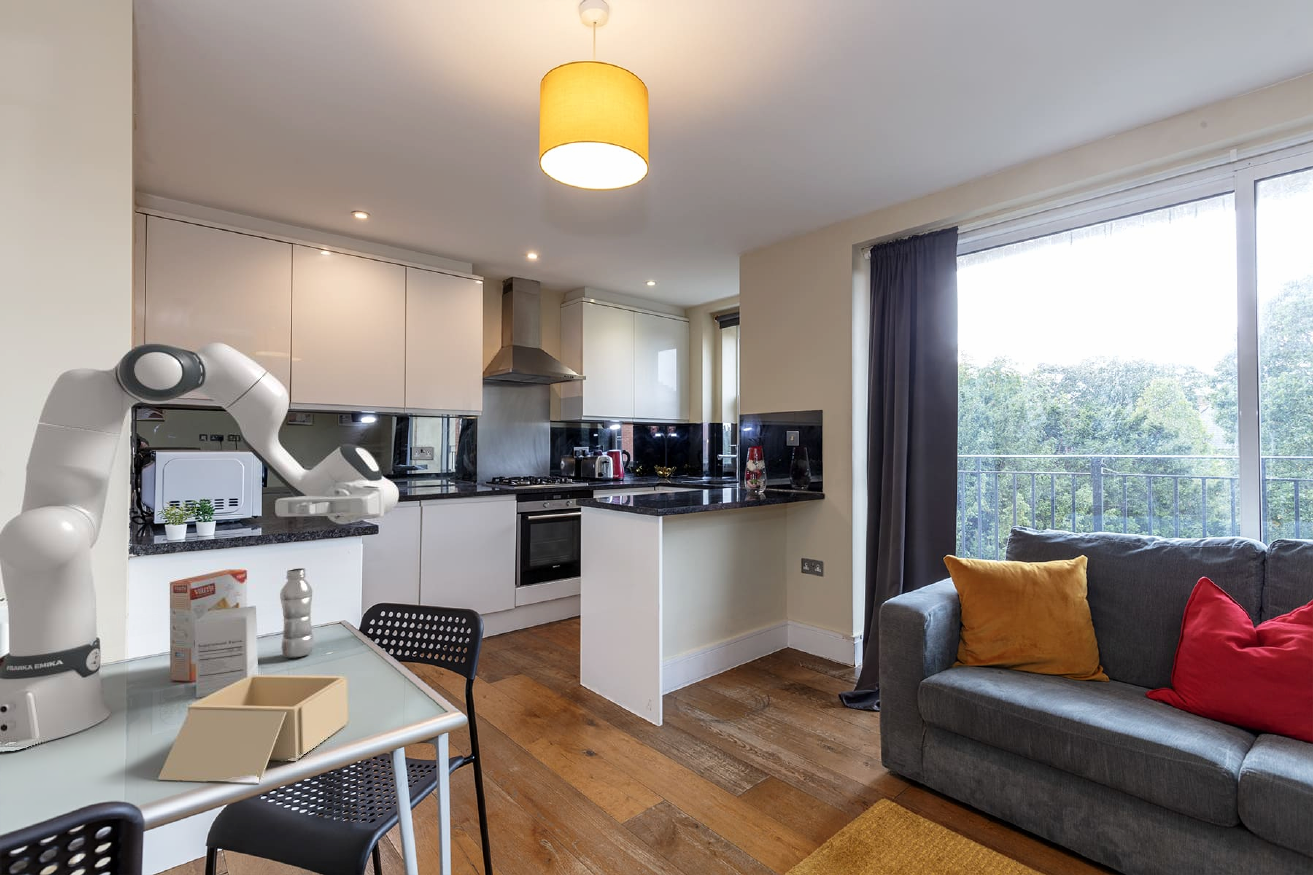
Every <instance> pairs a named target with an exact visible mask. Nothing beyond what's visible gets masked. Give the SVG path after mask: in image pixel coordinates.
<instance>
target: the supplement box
mask: <svg viewBox="0 0 1313 875" xmlns="http://www.w3.org/2000/svg"><path fill="white" fill-rule="evenodd" d="M194 626H195V666H196V680H195V696H196V698H197V699H198V698H205V697H207V696H209V695H211V694H213V693H215V692H217V691H219V690H221V689H223V688H225V687H227V686H229V685H231V684H234V683H236V682H238V681H240V680H242V679H244V678H247V677H249V676H251V675H259V664H258V662H259V661H258V659H259V658H258V656H259V655H258V631H257V630H258V629H257V628H258V627H257V606H256V605H252V606H247V607H242V608H233V609H221V610H212V611H208V612H207V613H205V614H204V615H203V616H202V617H201V618H199V619H198V620H197V621H196V622H194Z"/></svg>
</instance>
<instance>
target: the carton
mask: <svg viewBox="0 0 1313 875" xmlns="http://www.w3.org/2000/svg"><path fill="white" fill-rule="evenodd" d="M348 685H349V684H348V676H344V675H309V674H307V675H302V674H301V675H300V674H299V675H298V674H296V675H295V674H258V675H251V676H249V677H247V678H244V679H242V680H240V681H238V682H236V683H234V684H231V685H229V686H227V687H225V688H223V689H221V690H219V691H217V692H215V693H213V694H211V695H209V696H205V697H202V698H201V699H199V700H196V701H195V702H193V703H191V704H190V705H188V706H187V713H188V712H189V710H234V711H278V712H286V715H285V718H284V720H283V723H282V726H281V728H280V731H279V734H278V736H277V739H276V742H275V745H274V747H273V750H272V753H271V755H270V758H269V760H288V759H291V758H297V757H298V756H299V755H301V754H305V753H307V752H308V751H310V750H311V751H313V750H314V749H316V748H317V747H319V745H321V744H322V743H324V742H325V741H326V740H327V739H329V738H331V736H333V735H335V734H336V733H338V731H340V730H341V729H342V728H344V727H345V726H347V725H348V724H349V697H348V696H349V690H348V689H349V688H348V687H349V686H348ZM328 737H329V738H328ZM324 740H325V741H324ZM320 743H321V744H320ZM316 746H317V747H316ZM313 748H314V749H313ZM312 749H313V750H312ZM311 751H310V752H311ZM308 753H309V752H308ZM308 753H307V754H308Z"/></svg>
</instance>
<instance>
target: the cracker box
mask: <svg viewBox="0 0 1313 875" xmlns="http://www.w3.org/2000/svg"><path fill="white" fill-rule="evenodd" d="M242 607H248V570H246V569H240V568H239V569H234V568H233V569H231V568H230V569H223V570H219V571H214V572H210V573H206V574H205V573H204V574H201V575H196V576H192V577H187V578H184V579H178V580H173V581H170V583H169V662H170V663H169V664H170V666H169V676H170V678H169V679H170V680H169V681H176V682H188V683H192V682H196V666H195V626H194V622H196V621H197V620H198V619H199V618H201V617H202V616H203V615H204V614H205V613H207V612H208V611H212V610H221V609H233V608H242Z"/></svg>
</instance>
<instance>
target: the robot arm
mask: <svg viewBox="0 0 1313 875" xmlns="http://www.w3.org/2000/svg"><path fill="white" fill-rule="evenodd" d="M191 392H192V393H193V392H194V393H199V394H201V395H204V396H206V397H207V398H209V399H211V400H213V401H214V402H215V403H216V404H218V405H219V406H221V408H223V409H224V410H226V412H228V413H229V414H230V415H231V416H232V417H233V419H234V420H235V422H236V423H237V425H238V426H239V428H240V430H239V438H240V439H241V441H242V443H243V444H244V446H245V447H246V448H247V449H248V450H249V451H250V453H252V455H254V457H256V458H257V459H258V461H260V462H261V464H263V465H264V466H265V467H266V469H267V470H268V471H270V472H271V473H272V474H273V476H274V477H276V478H277V479H278V481H279V482H281V483H282V484H283V486H285V488H287V489H288V490H289V492H290V493H291V495H292V496H291V497H290V496H289V497H281V498H278V499H276V500H275V503H274V504H275V505H274V507H275V508H274V510H275V515H276V516H277V517H327V518H328V519H329V520H330V521H332V522H334V523H336V524H340V525H347V524H351V523H355V522H359V521H360V522H361V521H363V520H370V519H378V518H383V517H384V515H386V514H388V513H389V512H391V511H392V510H394V508H395V507H396V505H397V504H398V502H399V498H400V493H399V492H400V491H399V488H398V487H397V485H396V484H395V483H394V482H393V481H391V480H390V479H388V478H386V477H384V476H383V474H382V470H381V466H380V464H379V462H378V460H377V459H376V458H375V457H376V456H374V455H373V454H372V452H370V451H369V450H368V449H367V448H364V447H362V446H359V445H357V444H351V443H350V444H349V443H344V444H340V446H339V447H337V448H336V449H335V450H333V451H332V452H331V453H330V454H329V455H327V456H326V457H325V458H324V459H323V460H322V461H320V462H319V463H318V464H317V465H315V466H314V467H313V468H312V469H310V470H309V469H308V470H307V469H305V468H303V467H302V465H300V463H298V461H297V460H296V459H294V458H293V456H292V455H290V453H289V452H288V451H287V450H286V449H285V448H284V447H283V446H282V445H281V443H280V441H279V431H280V428H281V426H282V424H283V422H284V420H285V418H286V415H287V414H288V410H289V408H290V407H289V406H290V397H289V394H288V390H287V388H286V387H285V386H284V385H283V384H282V382H280V380H279V379H277V377H275V376H274V375H272V374H271V373H270V372H269V371H267V369H265V368H264V367H262V366H261V365H260V364H258V363H257V362H255V361H254V360H253V359H252V358H249V357H248V356H247V355H246V354H244V353H242V352H240V351H238V350H237V349H235V348H233V347H231V346H230V345H228V344H226V343H224V342H223V343H222V342H213V343H209V344H206V345H202V346H201V347H200V348H198V349H196V350H195V351H191V350H188V349H183V348H178V347H175V346H171V345H167V344H163V343H148V344H147V343H146V344H142V345H139V346H136V347H133V348H132V349H131V350H129V351H128V352H127V353H125V355H124V356H122V357H121V358H120V360H119V361H118V363H117V364H116V365H115V366H114V367H113V368H111V369H107V370H104V369H103V370H102V369H101V370H100V369H95V368H83V367H80V368H73V369H70V370H67V371H65V372H63V373H62V374H61V375H59V377H58V378H57V380H56V381H55V383H54V384H53V387H52V388H51V390H50V392H49V394H48V395H47V399H46V400H45V401H44V402H45V403H44V405H43V408H42V410H41V414H40V415H39V416H40V417H39V420H38V423H37V426H36V431H35V433H34V438H33V442H32V445H31V448H30V452H29V457H28V459H27V464H26V467H25V468H26V469H25V471H26V476H25V486H24V494H23V502H22V507H21V512H20V513H19V514H18V515H16V516H15V517H13V518H12V519H10V520H9V521H8V522H7V523H6V524H5V525H4V526H3V528H2V530H1V531H0V572H1V578H2V584H3V588H4V593H5V597H6V604H7V613H8V616H7V617H8V650H9V651H8V652H7V653H6V654H4V655H2V656H0V742H1V743H0V747H26V746H30V745H34V746H36V745H35V744H37V745H39V744H42V743H46V742H48V741H52V740H57V739H59V738H63V737H67V736H69V735H72V734H75V733H78V732H81V731H84V730H86V729H89V728H91V727H94V726H95V725H97V724H100V723H101V722H103V721H104V720H107V718H109V717H110V715H111V710H110V708H109V706H108V704H107V701H106V698H105V695H104V691H103V687H102V681H101V676H100V675H101V674H100V669H101V658H102V657H101V640H100V638H99V637H98V635H97V634H98V632H97V629H98V628H97V595H96V591H95V584H94V578H93V577H94V576H93V570H92V559H91V549H92V548H93V546H95V545H96V543H97V541H98V538H99V536H100V535H99V534H100V531H101V526H102V521H103V514H104V511H105V506H106V500H107V495H108V489H109V485H110V484H109V482H110V478H111V474H112V469H113V465H114V461H115V457H116V453H117V449H118V444H119V442H120V437H121V433H122V430H123V425H124V421H125V418H126V416H127V414H128V412H129V410H130V409H131V408H132V407H133V406H137V405H139V406H140V405H160V404H167V403H171V402H174V401H175V400H177V399H179V398H180V397H183V396H184V395H186V394H188V393H191ZM9 742H16V743H14V744H10V745H9V744H8V745H5V744H7V743H9ZM41 742H42V743H41ZM38 743H39V744H38Z"/></svg>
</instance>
